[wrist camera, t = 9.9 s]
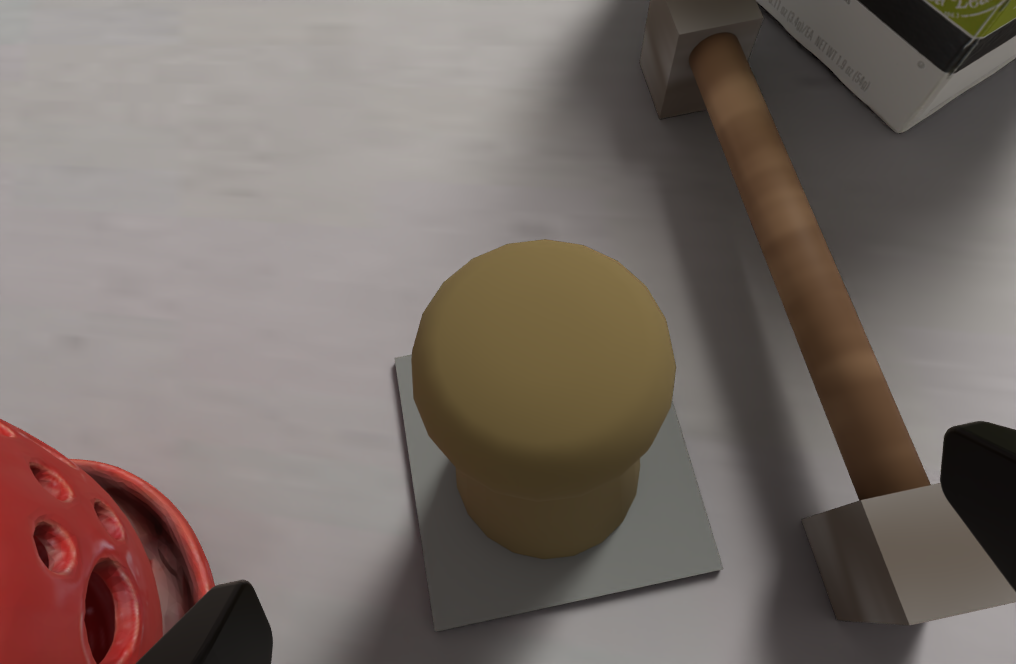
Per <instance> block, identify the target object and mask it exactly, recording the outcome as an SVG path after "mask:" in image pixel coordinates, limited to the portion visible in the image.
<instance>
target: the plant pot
mask: <svg viewBox="0 0 1016 664" xmlns="http://www.w3.org/2000/svg"><path fill="white" fill-rule="evenodd" d="M214 586H215V585H214V581H213V577H212V573H211V570H210V567H209V564H208V561H207V559H206V556H205V554H204V551H203V549H202V547H201V545H200V543H199V541H198V539H197V537H196V535H195V533H194V531H193V530H192V528H191V526H190V525H189V523H188V522H187V520H186V519H185V518H184V516H183V515H182V514H181V512H180V511H179V510H178V509H177V508H176V507H175V506H174V505H173V503H172V502H171V501H170V500H169V499H168V498H167V497H165V496H164V495H163V494H162V493H161V492H160V491H158V490H157V489H156V488H155V487H153V486H152V485H150V484H149V483H148V482H146V481H144V480H143V479H141V478H139V477H137V476H135V475H134V474H132V473H130V472H127V471H125V470H123V469H121V468H118V467H116V466H112V465H109V464H105V463H101V462H96V461H89V460H79V459H68V458H67V457H65V456H64V455H62V454H61V453H59V452H58V451H57V450H55V449H54V448H52V447H50V446H49V445H47V444H45V443H44V442H42V441H40V440H39V439H37V438H35V437H33V436H32V435H30V434H28V433H26V432H25V431H23V430H21V429H19V428H17V427H15V426H13V425H11V424H9V423H7V422H6V421H4V420H2V419H0V664H135V663H136V662H137V661H138V660H139V659H140V658H141V657H142V656H143V655H144V654H145V653H146V652H147V651H148V650H150V649H151V648H152V647H153V646H154V645H155V644H156V643H157V642H158V641H159V640H160V639H161V638H162V637H163V636H164V635H165V634H166V633H167V632H168V631H169V630H170V629H171V628H172V627H173V626H174V625H175V624H176V623H177V622H178V621H179V620H180V619H181V618H182V617H183V616H184V615H185V614H186V613H187V612H188V611H189V610H190V609H191V608H192V607H193V606H194V605H195V604H196V603H197V602H198V601H199V600H200V599H201V598H202V597H203V596H204V595H205V594H206V593H207V592H208V591H209V590H210V589H211V588H213V587H214Z"/></svg>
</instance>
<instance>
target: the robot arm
mask: <svg viewBox="0 0 1016 664" xmlns="http://www.w3.org/2000/svg"><path fill="white" fill-rule="evenodd" d="M940 482H941V488H942V491H943V493H944V495H945V497H946V499H947V500H948V502H949V503H950V505H951V506H952V507H953V509H954V510H955V511H956V513H957V514H958V515H959V517H960V518H961V520H962V521H963V522H964V524H965V525H966V526H967V528H968V529H969V530H970V532H971V533H972V534H973V536H974V537H975V538H976V540H977V541H978V542H979V544H980V545H981V547H982V548H983V549H984V551H985V552H986V553H987V555H988V556H989V557H990V559H991V560H992V561H993V563H994V564H995V565H996V567H997V568H998V569H999V571H1000V572H1001V574H1002V575H1003V576H1004V578H1005V579H1006V580H1007V582H1008V583H1009V584H1010V586H1011V587H1012V588H1013V589H1014V591H1015V592H1016V430H1015V429H1011V428H1007V427H1003V426H1000V425H996V424H992V423H989V422H984V421H977V422H972V423H967V424H962V425H958V426H953V427H951V428H950V429H948V430H947V432H946V433H945V435H944V442H943V453H942V464H941V475H940ZM272 648H273V638H272V631H271V627H270V625H269V622H268V620H267V618H266V615H265V613H264V611H263V608H262V606H261V604H260V602H259V599H258V597H257V595H256V592H255V590H254V588H253V586H252V585H251V584H250V583H249V582H248V581H246V580H239V581H234V582H229V583H225V584H220V585H217V586H214V587H213V588H211V589H210V590H209V591H208V592H207V593H206V594H205V595H204V596H203V597H202V598H201V599H200V600H199V601H198V602H197V603H196V604H195V605H194V606H193V607H192V608H191V609H190V610H189V611H188V612H187V613H186V614H185V615H184V616H183V617H182V618H181V619H180V620H179V621H178V622H177V623H176V624H175V625H174V626H173V627H172V628H171V629H170V630H169V631H168V632H167V633H166V634H165V635H164V636H163V637H162V638H161V639H160V640H159V641H158V642H157V643H156V644H155V645H154V646H153V647H152V648H151V649H150V650H148V651H147V652H146V653H145V654H144V655H143V656H142V657H141V658H140V659H139V660H138V661H137V662H136V663H135V664H271V658H272Z"/></svg>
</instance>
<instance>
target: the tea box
mask: <svg viewBox="0 0 1016 664" xmlns="http://www.w3.org/2000/svg"><path fill="white" fill-rule="evenodd" d="M756 2H757V3H759V4H760V5H761V6H762V7H764V8H765V9H766V10H767V11H768V12H769V13H770V14H771V15H772V16H773V17H774V18H775V19H777V20H778V21H779V22H780V23H781V24H782V25H783V27H784V28H785V29H786V30H787V31H788V32H789V33H790V34H791V35H792V36H793V37H794V38H795V39H796V40H797V41H798V42H800V43H801V44H802V45H803V46H804V47H805V48H806V49H808V50H809V51H810V52H812V53H813V54H814V55H815V56H816V57H817V58H818V59H820V60H821V61H822V62H823V63H824V64H825V65H826V66H827V67H828V68H829V69H830V70H831V71H832V72H833V73H834V74H835V75H836V76H837V77H838V78H839V79H840V80H841V81H842V83H843V84H845V85H846V86H847V87H848V88H849V89H850V90H851V91H852V92H853V93H854V94H855V95H856V96H857V97H858V98H859V99H861V100H862V101H863V102H864V103H865V104H867V105H868V106H869V107H870V108H871V109H872V110H873V111H874V112H875V113H876V114H877V115H878V116H879V117H880V118H881V119H882V120H883V121H884V122H885V123H886V124H887V125H888V126H889V127H890V128H891V129H892V130H893V131H894V132H896V133H902V132H905V131H907V130H908V129H910V128H911V127H913V126H914V125H916V124H917V123H919V122H920V121H922V120H923V119H925V118H927V117H928V116H930V115H931V114H933V113H934V112H936V111H937V110H939V109H940V108H941V107H943V106H944V105H946V104H947V103H949V102H950V101H951V100H953V99H954V98H956V97H957V96H959V95H960V94H962V93H963V92H965V91H967V90H968V89H970V88H971V87H973V86H975V85H977V84H978V83H980V82H981V81H983V80H984V79H986V78H988V77H989V76H991V75H992V74H994V73H995V72H997V71H998V70H1000V69H1001V68H1002V67H1004V66H1005V65H1007V64H1008V63H1009V62H1011V61H1012V60H1014V59H1015V58H1016V0H756Z"/></svg>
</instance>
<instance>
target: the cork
mask: <svg viewBox="0 0 1016 664" xmlns="http://www.w3.org/2000/svg"><path fill="white" fill-rule="evenodd" d="M411 364H412V383H413V399H414V401H415V404H416V406H417V409H418V411H419V414H420V416H421V419H422V421H423V423H424V426H425V428H426V431H427V433H428V436H429V437H430V438H431V439H432V441H433V442H434V443H435V444H436V445H437V447H438V448H439V449H440V450H441V451H442V452H443V453H444V455H445V456H446V457H447V458H448V459H449V460H450V461H451V463H452V464H453V465H454V466H455V468H456V482H457V489H458V491H459V493H460V496H461V498H462V501H463V503H464V506H465V508H466V511H467V513H468V515H469V516H470V517H471V518H472V520H473V521H474V522H475V523H476V524H477V525H478V527H479V528H480V529H481V530H482V531H483V532H484V534H485V535H486V536H487V537H488V538H490V539H491V540H493V541H495V542H496V543H498V544H500V545H501V546H503V547H505V548H506V549H508V550H510V551H511V552H513V553H517V554H521V555H526V556H530V557H535V558H540V559H551V558H560V557H569V556H575V555H577V554H579V553H581V552H583V551H585V550H587V549H589V548H591V547H594V546H596V545H598V544H600V543H602V542H603V541H604V540H605V539H606V538H607V537H608V536H609V535H610V534H611V533H612V532H613V531H614V530H615V529H616V528H617V527H618V526H619V525H620V524H621V523H622V522H623V520H624V518H625V516H626V514H627V512H628V510H629V508H630V506H631V504H632V502H633V500H634V498H635V496H636V493H637V486H638V479H639V472H640V458H641V457H642V456H643V455H644V454H645V453H646V452H647V451H648V450H649V448H650V447H651V445H652V444H653V442H654V440H655V438H656V436H657V434H658V432H659V430H660V428H661V426H662V424H663V422H664V420H665V418H666V416H667V414H668V412H669V410H670V408H671V404H672V396H673V388H674V380H675V372H676V364H675V359H674V354H673V350H672V345H671V340H670V336H669V331H668V326H667V322H666V319H665V317H664V315H663V314H662V312H661V310H660V309H659V307H658V305H657V303H656V302H655V300H654V298H653V297H652V295H651V293H650V292H649V290H648V288H647V287H646V286H645V285H644V284H643V283H642V282H641V281H640V280H639V279H637V278H636V277H635V276H634V275H633V274H632V273H631V272H630V271H628V270H627V269H626V268H625V267H624V266H623V265H622V264H620V263H619V262H618V261H616V260H614V259H612V258H610V257H608V256H606V255H603V254H601V253H599V252H597V251H595V250H593V249H590V248H588V247H586V246H584V245H579V244H572V243H566V242H559V241H553V240H546V239H544V240H536V241H528V242H520V243H512V244H506V245H504V246H502V247H499V248H497V249H495V250H492V251H490V252H487V253H485V254H483V255H480V256H478V257H476V258H473V259H472V260H470V261H469V262H468V263H467V264H466V265H464V266H463V267H462V268H461V269H459V270H458V271H457V272H456V273H454V274H453V275H452V276H451V277H450V278H448V279H447V280H446V281H445V282H443V284H442V285H441V287H440V288H439V290H438V291H437V293H436V294H435V296H434V297H433V299H432V300H431V302H430V303H429V305H428V306H427V308H426V309H425V311H424V312H423V314H422V318H421V321H420V325H419V328H418V332H417V336H416V339H415V343H414V346H413V350H412V358H411Z"/></svg>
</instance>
